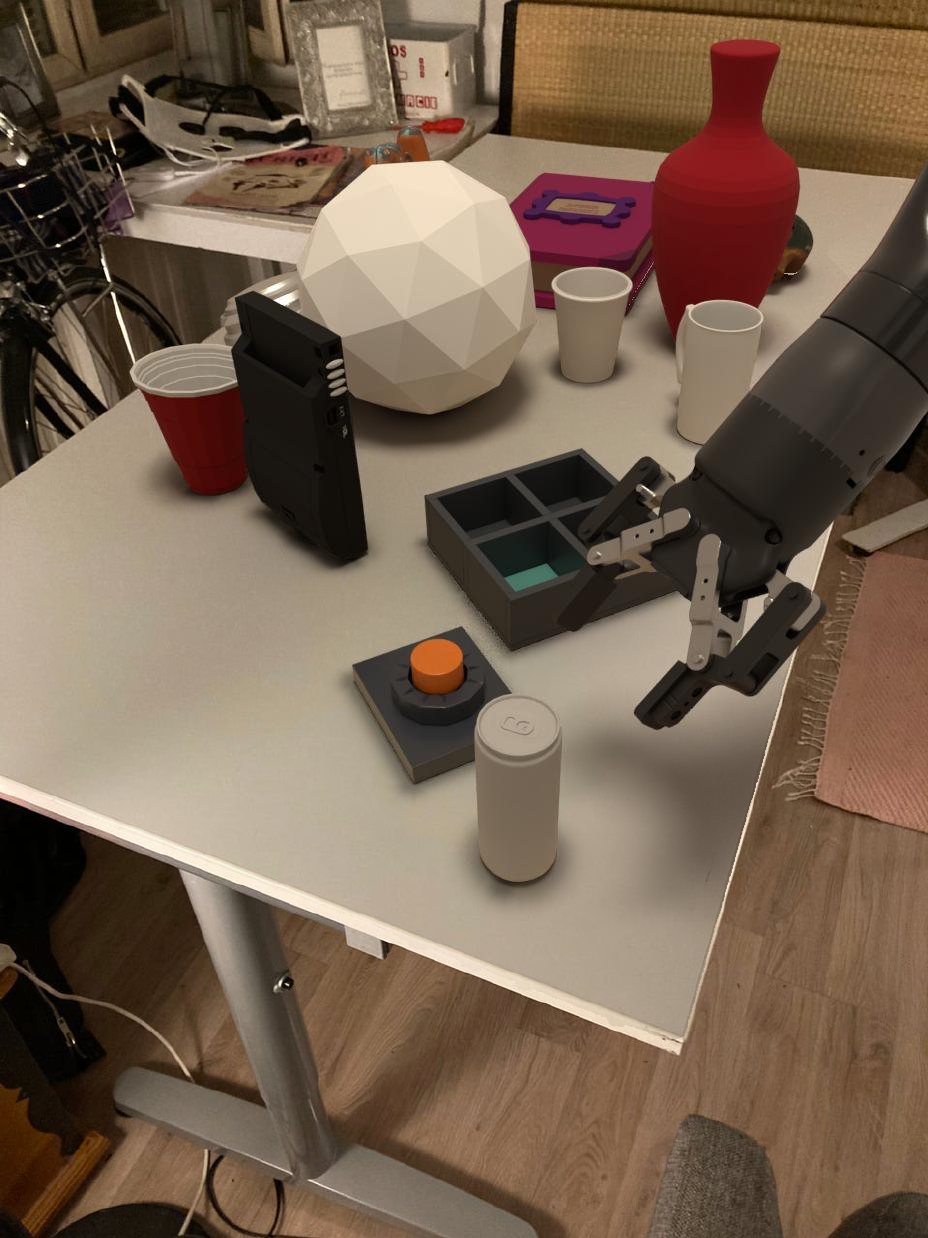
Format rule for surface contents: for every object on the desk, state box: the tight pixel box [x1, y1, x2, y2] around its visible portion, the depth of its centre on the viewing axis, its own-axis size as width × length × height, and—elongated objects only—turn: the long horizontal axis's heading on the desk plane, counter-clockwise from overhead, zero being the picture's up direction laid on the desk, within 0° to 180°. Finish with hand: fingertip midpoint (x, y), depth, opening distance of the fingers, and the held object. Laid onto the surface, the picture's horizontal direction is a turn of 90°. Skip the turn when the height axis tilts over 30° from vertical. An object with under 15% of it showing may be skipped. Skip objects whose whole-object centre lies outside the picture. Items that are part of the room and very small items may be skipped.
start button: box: [410, 639, 464, 695], centre depth 67 cm, size 4×4×2 cm
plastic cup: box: [129, 343, 248, 496], centre depth 90 cm, size 11×11×12 cm
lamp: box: [219, 159, 538, 415], centre depth 99 cm, size 23×35×24 cm, turn 70°
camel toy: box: [364, 125, 431, 171], centre depth 127 cm, size 25×13×17 cm, turn 157°
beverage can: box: [474, 693, 563, 883], centre depth 57 cm, size 5×5×12 cm
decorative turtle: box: [771, 213, 814, 284], centre depth 123 cm, size 10×15×8 cm, turn 171°
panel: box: [351, 626, 513, 784], centre depth 69 cm, size 11×9×4 cm
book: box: [508, 172, 655, 318], centre depth 127 cm, size 21×28×8 cm
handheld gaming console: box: [231, 291, 369, 561], centre depth 80 cm, size 12×5×20 cm, turn 42°
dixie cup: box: [552, 267, 633, 384], centre depth 104 cm, size 8×8×10 cm
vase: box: [651, 38, 801, 344], centre depth 102 cm, size 15×15×30 cm
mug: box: [675, 300, 764, 445], centre depth 95 cm, size 10×7×12 cm, turn 24°
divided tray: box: [423, 447, 677, 652], centre depth 80 cm, size 15×15×5 cm
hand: (601, 671), depth 53 cm, fingers open, 8 cm apart
